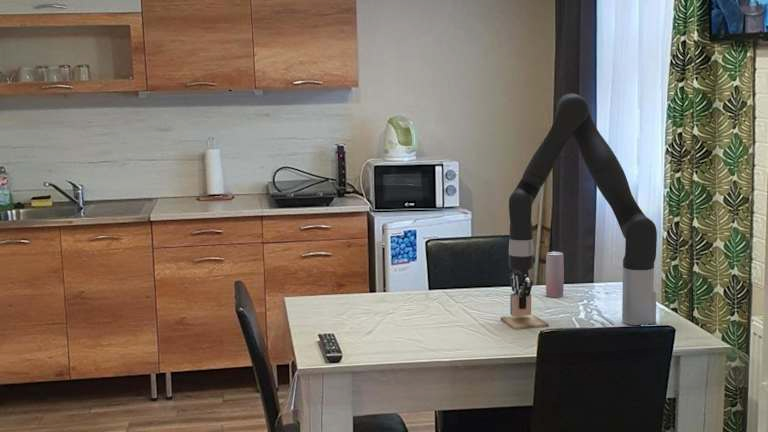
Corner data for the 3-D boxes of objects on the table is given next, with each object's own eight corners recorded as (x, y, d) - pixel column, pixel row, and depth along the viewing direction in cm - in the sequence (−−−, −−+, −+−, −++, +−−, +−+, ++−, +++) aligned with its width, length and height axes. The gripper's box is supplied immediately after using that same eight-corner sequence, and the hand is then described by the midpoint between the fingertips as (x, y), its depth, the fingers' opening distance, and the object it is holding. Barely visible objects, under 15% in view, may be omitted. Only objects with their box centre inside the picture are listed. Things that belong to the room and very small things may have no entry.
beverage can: (545, 293, 332) (545, 251, 330) (563, 293, 331) (563, 251, 329) (546, 297, 326) (546, 254, 324) (563, 297, 325) (564, 254, 323)
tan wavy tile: (533, 316, 301) (533, 314, 300) (548, 326, 289) (548, 323, 289) (500, 319, 298) (500, 317, 298) (514, 329, 286) (515, 326, 286)
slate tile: (528, 313, 297) (528, 292, 296) (531, 314, 295) (531, 294, 294) (510, 314, 296) (510, 293, 295) (513, 316, 294) (513, 295, 293)
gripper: (541, 256, 287) (540, 312, 289) (523, 248, 300) (523, 301, 303) (518, 257, 285) (518, 313, 288) (501, 250, 298) (501, 303, 301)
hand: (520, 307), depth 295 cm, fingers closed on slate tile, 2 cm apart
